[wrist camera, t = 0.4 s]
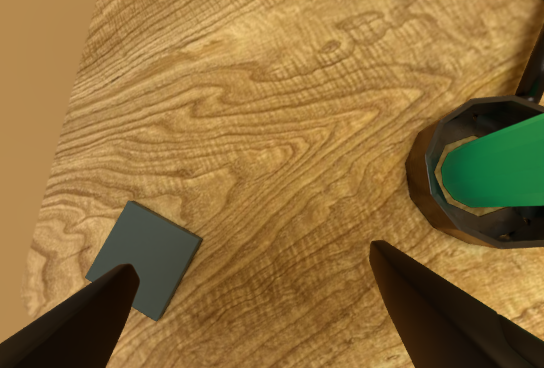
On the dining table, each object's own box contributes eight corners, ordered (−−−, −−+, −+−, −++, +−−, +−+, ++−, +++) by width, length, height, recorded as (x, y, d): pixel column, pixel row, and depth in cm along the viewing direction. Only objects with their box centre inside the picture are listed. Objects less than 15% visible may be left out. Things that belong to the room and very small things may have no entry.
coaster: (203, 238, 21) (199, 239, 20) (161, 318, 21) (156, 322, 20) (133, 200, 22) (128, 200, 21) (91, 275, 21) (84, 277, 21)
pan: (519, 267, 19) (562, 277, 16) (386, 205, 21) (403, 204, 18) (621, -4, 22) (674, -39, 19) (495, -44, 23) (527, -82, 20)
